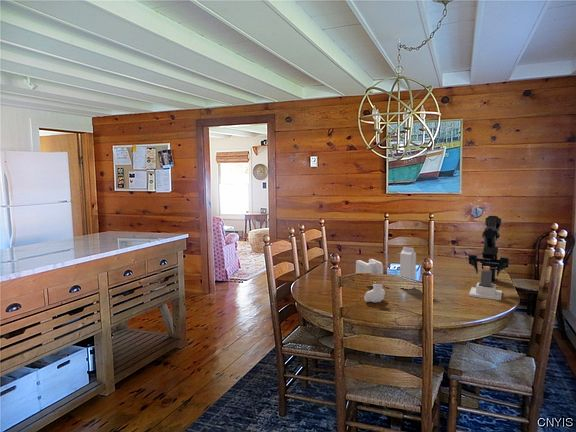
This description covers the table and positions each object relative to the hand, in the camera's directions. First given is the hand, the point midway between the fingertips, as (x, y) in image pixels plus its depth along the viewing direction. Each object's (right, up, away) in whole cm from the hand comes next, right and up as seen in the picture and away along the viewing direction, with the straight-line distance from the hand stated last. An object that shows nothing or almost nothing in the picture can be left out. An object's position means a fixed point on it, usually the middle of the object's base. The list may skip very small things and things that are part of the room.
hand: (487, 274), depth 208 cm
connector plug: (-2, -8, -3) cm, 9 cm away
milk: (-38, -9, +9) cm, 40 cm away
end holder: (-2, -9, -3) cm, 10 cm away
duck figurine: (-60, -11, -13) cm, 62 cm away
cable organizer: (-56, -7, +23) cm, 61 cm away
